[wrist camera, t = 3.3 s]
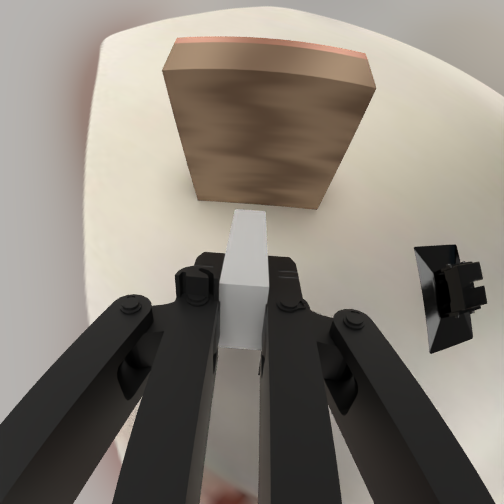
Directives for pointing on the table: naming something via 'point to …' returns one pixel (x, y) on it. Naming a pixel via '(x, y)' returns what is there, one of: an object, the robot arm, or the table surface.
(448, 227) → the table surface
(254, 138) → the mottled brown tile
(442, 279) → the black notched bracket mount
